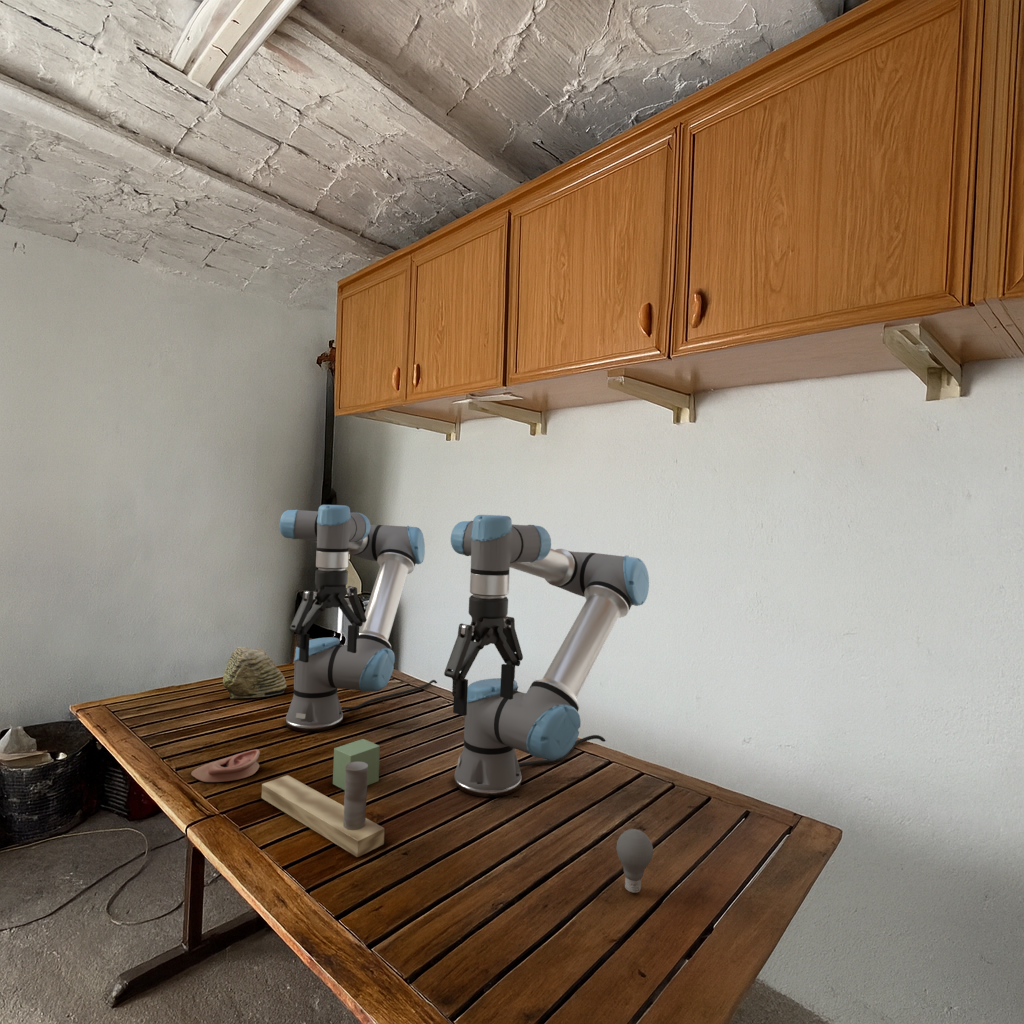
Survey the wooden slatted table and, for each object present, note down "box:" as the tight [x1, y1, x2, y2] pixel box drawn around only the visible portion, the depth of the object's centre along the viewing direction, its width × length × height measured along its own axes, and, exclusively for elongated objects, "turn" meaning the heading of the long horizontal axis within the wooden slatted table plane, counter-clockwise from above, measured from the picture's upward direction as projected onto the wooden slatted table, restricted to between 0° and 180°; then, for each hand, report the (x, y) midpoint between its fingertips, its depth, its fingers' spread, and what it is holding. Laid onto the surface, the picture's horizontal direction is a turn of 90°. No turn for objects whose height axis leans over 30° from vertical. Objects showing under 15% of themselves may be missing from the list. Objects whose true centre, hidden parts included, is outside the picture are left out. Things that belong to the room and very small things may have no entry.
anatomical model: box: [190, 748, 261, 783], centre depth 143 cm, size 13×4×12 cm
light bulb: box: [615, 828, 654, 894], centre depth 106 cm, size 6×6×10 cm
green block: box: [332, 738, 381, 791], centre depth 141 cm, size 8×6×8 cm
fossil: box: [222, 646, 288, 699], centre depth 198 cm, size 9×18×15 cm, turn 132°
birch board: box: [261, 762, 385, 858], centre depth 124 cm, size 6×32×14 cm, turn 51°
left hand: (328, 656), depth 153 cm, fingers open, 13 cm apart
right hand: (484, 705), depth 122 cm, fingers open, 13 cm apart
